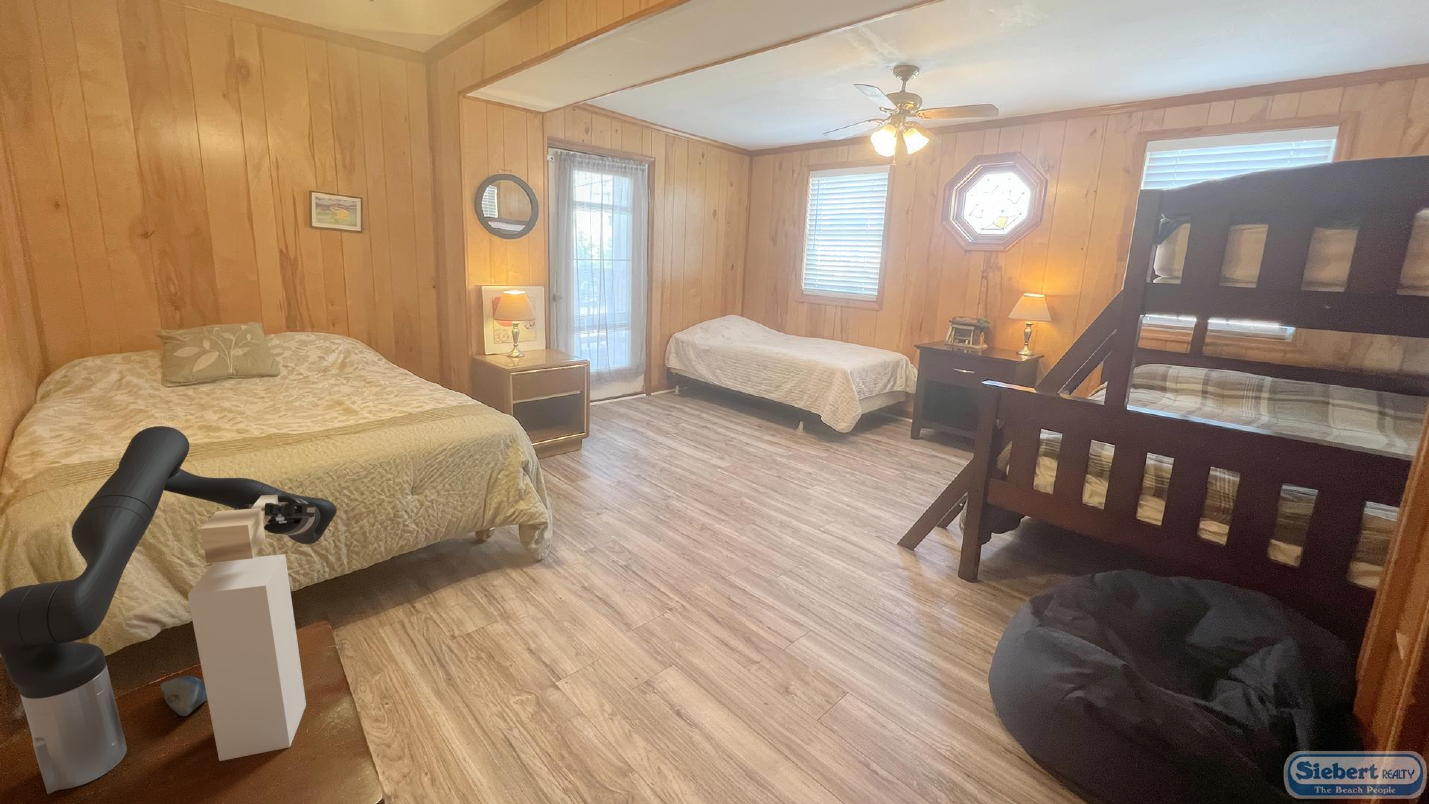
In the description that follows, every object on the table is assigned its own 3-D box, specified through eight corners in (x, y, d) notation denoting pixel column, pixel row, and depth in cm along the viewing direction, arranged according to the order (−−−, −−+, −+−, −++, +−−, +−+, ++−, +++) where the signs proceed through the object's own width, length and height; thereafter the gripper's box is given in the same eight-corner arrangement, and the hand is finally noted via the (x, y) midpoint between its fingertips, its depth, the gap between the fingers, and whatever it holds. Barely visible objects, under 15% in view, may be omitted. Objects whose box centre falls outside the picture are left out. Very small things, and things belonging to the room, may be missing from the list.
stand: (290, 747, 102) (265, 585, 94) (219, 761, 99) (187, 594, 90) (306, 705, 111) (285, 554, 103) (241, 716, 108) (214, 561, 99)
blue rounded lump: (176, 671, 114) (141, 678, 104) (229, 673, 115) (199, 681, 106) (164, 707, 112) (127, 717, 102) (218, 709, 113) (187, 719, 104)
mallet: (252, 558, 94) (247, 524, 93) (206, 563, 92) (200, 528, 91) (289, 505, 112) (285, 476, 110) (251, 508, 110) (247, 479, 108)
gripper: (248, 500, 118) (209, 491, 102) (328, 494, 123) (303, 485, 107) (245, 538, 117) (206, 535, 101) (327, 531, 122) (302, 527, 106)
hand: (256, 509), depth 104 cm, fingers closed on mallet, 2 cm apart
